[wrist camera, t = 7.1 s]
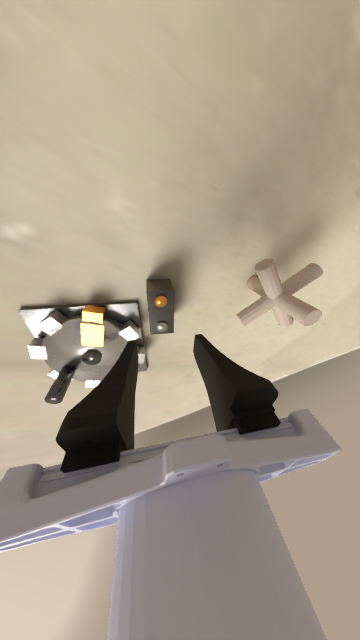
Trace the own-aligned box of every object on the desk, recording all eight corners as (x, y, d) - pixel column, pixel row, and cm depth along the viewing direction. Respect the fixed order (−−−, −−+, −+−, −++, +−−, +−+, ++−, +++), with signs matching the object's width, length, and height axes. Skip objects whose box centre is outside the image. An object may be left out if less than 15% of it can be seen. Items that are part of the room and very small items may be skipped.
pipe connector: (237, 321, 27) (277, 367, 18) (208, 279, 21) (247, 317, 13) (291, 285, 24) (364, 319, 16) (274, 227, 19) (370, 234, 11)
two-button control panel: (146, 279, 20) (146, 292, 16) (169, 278, 20) (174, 291, 17) (150, 318, 23) (150, 336, 20) (169, 316, 24) (173, 334, 20)
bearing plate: (20, 308, 19) (17, 310, 18) (137, 301, 21) (137, 303, 21) (65, 379, 27) (63, 381, 26) (147, 368, 29) (147, 370, 28)
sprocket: (8, 341, 20) (-38, 382, 15) (96, 284, 18) (77, 309, 13) (95, 389, 28) (84, 426, 23) (162, 353, 26) (166, 384, 21)
